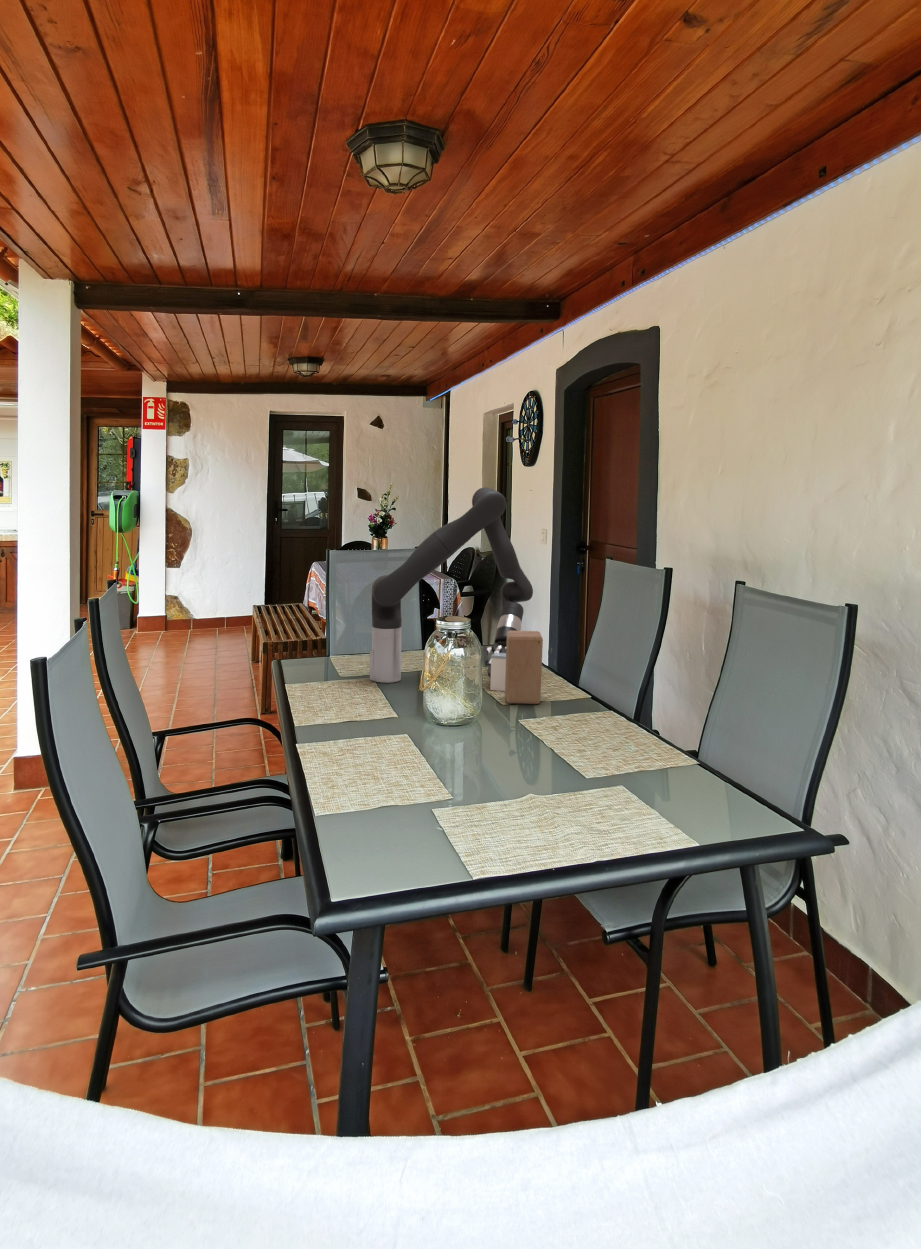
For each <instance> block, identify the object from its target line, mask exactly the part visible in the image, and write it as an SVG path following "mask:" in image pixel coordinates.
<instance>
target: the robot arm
mask: <svg viewBox="0 0 921 1249" xmlns="http://www.w3.org/2000/svg"><path fill="white" fill-rule="evenodd" d="M471 505H472V506H471V508H469V510H467V511H466V512H465V513H464V514H463V515H461V516H460V517H458V518H457V519H454V520H453V521H450V522H448V523H447V524H444V525H442V526H441V527H439V528H438V529H436V530H434V532H432V533H431V534H430V535H428V536H427V537H426V538H425V539H424V540H423V541H422V542H421V543H419V545H418V546H417V547H416V548H415V549H414V551H413V552H412V554H410V556H409V557H408V558H407V559H406V561H405V562H404V563H403V564H401V565H400V566H399V567H397V569H395V570H394V571H393V572H391V573H390V574H388V575H382V576H379V577H378V578H376V579H375V580H374V582H373V583H372V587H371V624H372V626H371V631H372V632H371V633H372V634H371V635H372V636H371V650H370V651H369V681H373V682H375V683H390V684H391V683H396V682H399V681H401V680H402V609H401V608H402V606H401V604H402V599H403V598H404V597H405V596H406V595H407V593H408V592H410V591H411V590H412V588H414V587H415V586H416V585H417V584H418V583H419V582H420V581H421V580H422V579H424V578H425V577H427V576H428V575H429V574H431V573H432V572H434V571H435V570H436V569H437V568H439V567H440V566H441V565H443V564H444V563H445V562H447V560H449V558H451V557H452V556H454V554H455V553H457V551H458V550H460V549H461V548H462V547H463V546H464V545H465V544H466V543H468V542H469V541H470V540H471V539H472V538H473V537H474V536H475V535H477V534H478V533H479V532H481V531H482V530H484V532H485V534H486V537H487V539H488V543H489V546H490V549H491V551H492V554H493V557H494V561H495V564H496V566H497V570H498V573H499V575H500V577H501V578H503V579H509V580H512V581H509V582H505V583H504V584H503V585H502V586H501V588H500V598H501V613H500V616H499V617H500V618H499V621H498V623H497V628H496V633H495V638H494V640H493V641H494V642H493V644H492V645H491V646H486V645H484V646H482V652H483V653H482V654H483V662H484V666H486V667H488V668H487V675H488V677H489V679H491V659H489V655H490V654H491V652H492V654H494V653H506V643H507V632H508V631H510V630H512V631H522V623H523V622H522V621H523V616H524V610H525V609H524V607H523V605H522V604H520V603H523V602H528V601H530V600H531V599H532V597H533V595H534V589H533V585H532V583H531V581H530V579H529V578H528V577H527V575H526V574H525V572H524V571H523V569H522V568H521V566H520V562H519V559H518V556H517V553H516V551H515V547H514V545H513V543H512V542H511V539H510V538H509V535H508V534H507V532H506V529H505V527H504V525H503V522H502V518H501V516H502V515H503V514H504V513H505V511H506V507H507V501H506V497H505V496H504V495H503V494H502V493H501V492H499V491H497V490H496V489H493V488H490V487H481V488H478V489H477V490H476V491H475V492H474V493H473V495H472V498H471Z"/></svg>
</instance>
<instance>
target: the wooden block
mask: <svg viewBox="0 0 921 1249" xmlns="http://www.w3.org/2000/svg"><path fill="white" fill-rule="evenodd" d="M543 641H544V640H543V637H542V634H541V631H538V630H521V631H512V630H510V631H508V632H507V643H506V675H505V691H504V698H505V701H506V703H507V704H518V705H521V704H522V705H523V704H525V705H538V704H540V702H541V695H542V694H541V693H542V668H543V647H544V646H543V645H544V644H543V643H544V642H543Z"/></svg>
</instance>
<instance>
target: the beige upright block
mask: <svg viewBox="0 0 921 1249" xmlns="http://www.w3.org/2000/svg"><path fill="white" fill-rule="evenodd" d="M490 660H491V678H490V685H489V686H490V687H489V688H490V690H489V691H499V692H505V675H506V653H492V654H491V655H490Z"/></svg>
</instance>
